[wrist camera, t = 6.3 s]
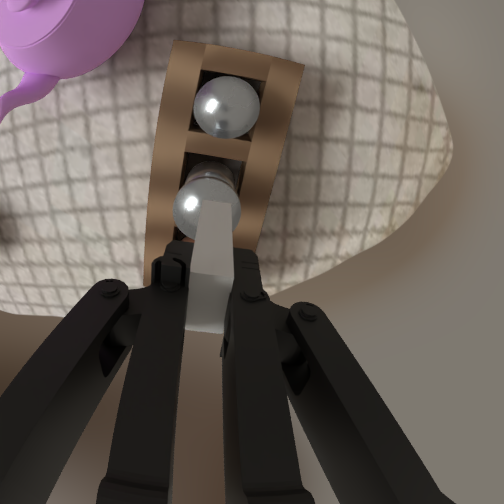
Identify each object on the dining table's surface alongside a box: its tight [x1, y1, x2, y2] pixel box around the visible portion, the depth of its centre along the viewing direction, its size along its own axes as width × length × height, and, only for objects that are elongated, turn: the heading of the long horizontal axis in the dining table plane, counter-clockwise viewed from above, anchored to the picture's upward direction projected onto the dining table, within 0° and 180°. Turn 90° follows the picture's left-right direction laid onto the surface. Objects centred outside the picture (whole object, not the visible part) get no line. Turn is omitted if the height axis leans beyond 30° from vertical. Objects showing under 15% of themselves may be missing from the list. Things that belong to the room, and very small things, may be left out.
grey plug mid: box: [173, 161, 241, 240], centre depth 27 cm, size 5×5×7 cm
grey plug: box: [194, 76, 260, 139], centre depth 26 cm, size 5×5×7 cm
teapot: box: [0, 0, 144, 123], centre depth 17 cm, size 22×16×14 cm
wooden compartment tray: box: [143, 40, 305, 287], centre depth 32 cm, size 27×12×5 cm, turn 167°
